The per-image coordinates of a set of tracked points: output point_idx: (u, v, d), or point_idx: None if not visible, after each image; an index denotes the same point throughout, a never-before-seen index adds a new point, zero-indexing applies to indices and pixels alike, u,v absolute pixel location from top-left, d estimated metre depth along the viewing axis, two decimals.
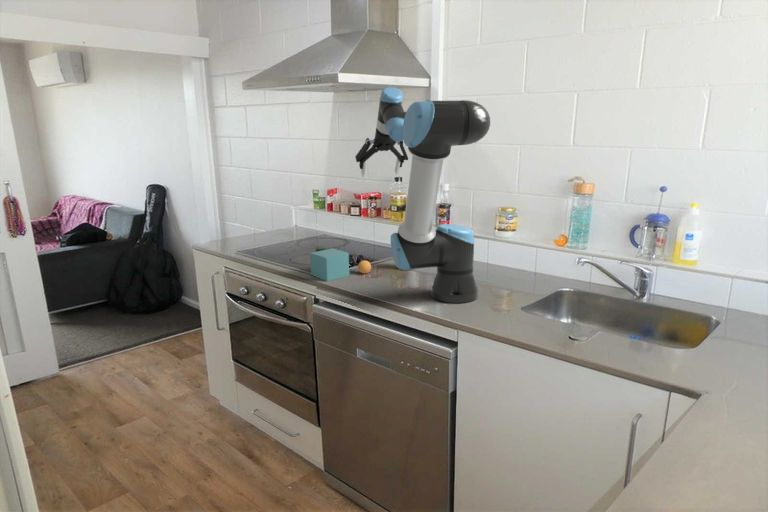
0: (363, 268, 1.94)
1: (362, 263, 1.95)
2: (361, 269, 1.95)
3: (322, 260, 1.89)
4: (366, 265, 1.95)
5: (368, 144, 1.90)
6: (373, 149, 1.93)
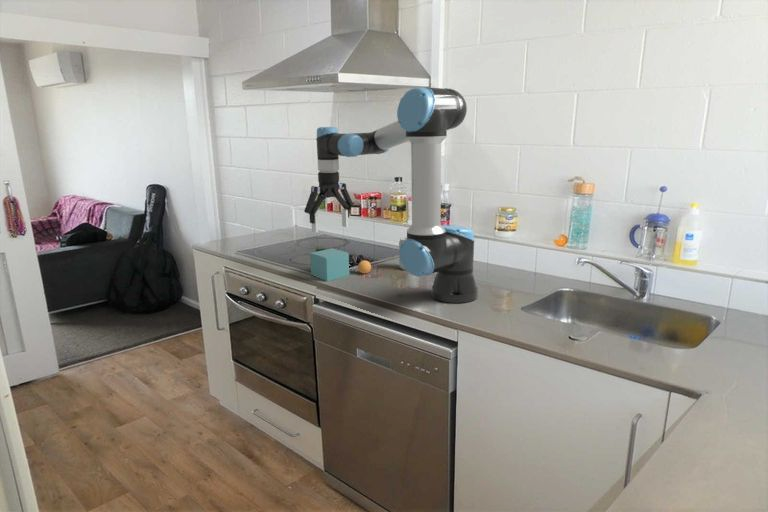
0: (363, 268, 1.94)
1: (362, 263, 1.95)
2: (361, 269, 1.95)
3: (322, 260, 1.89)
4: (366, 265, 1.95)
5: (316, 189, 1.83)
6: (321, 196, 1.86)
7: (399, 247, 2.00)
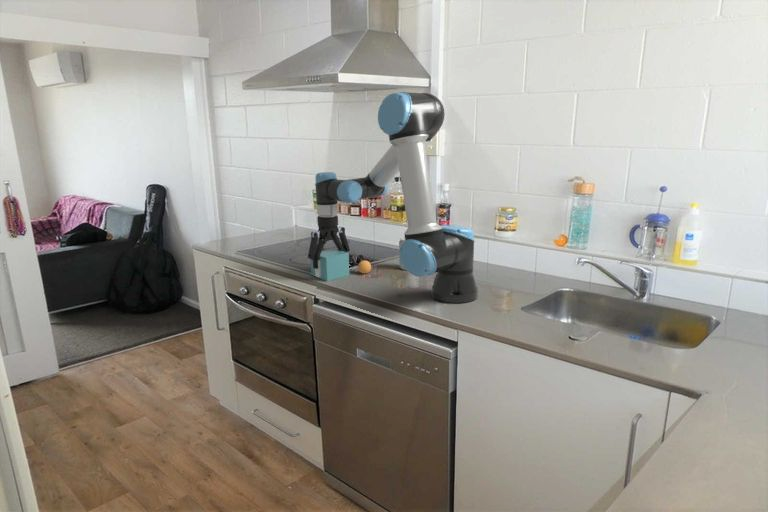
0: (363, 268, 1.94)
1: (362, 263, 1.95)
2: (361, 269, 1.95)
3: (322, 260, 1.89)
4: (366, 265, 1.95)
5: (316, 235, 1.86)
6: (321, 241, 1.89)
7: (399, 247, 2.00)
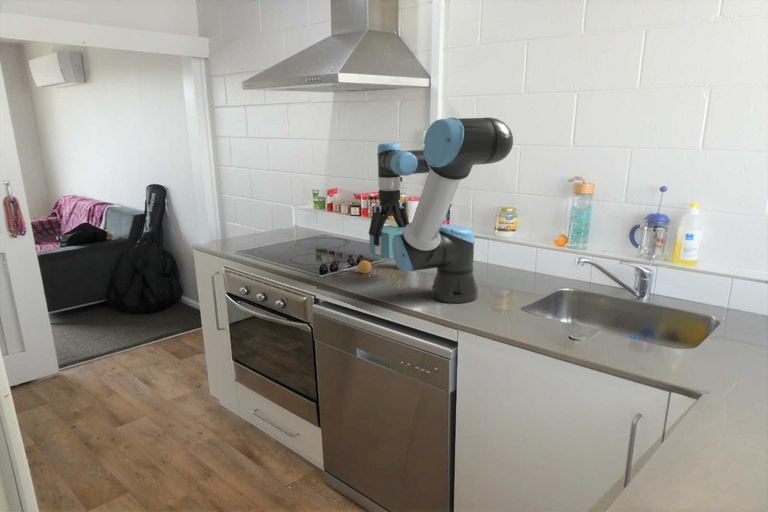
0: (363, 268, 1.94)
1: (362, 263, 1.95)
2: (361, 269, 1.95)
3: (383, 236, 1.78)
4: (366, 265, 1.95)
5: (378, 210, 1.75)
6: (383, 216, 1.78)
7: None
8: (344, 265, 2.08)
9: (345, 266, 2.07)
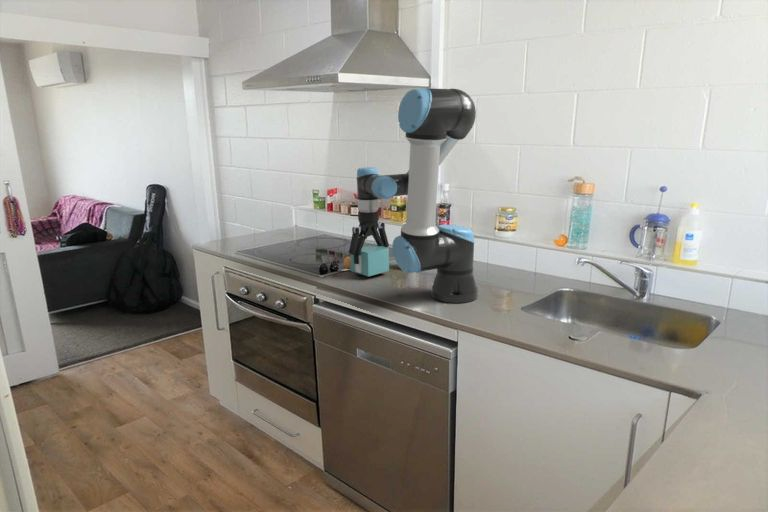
0: None
1: None
2: None
3: (363, 255, 1.88)
4: None
5: (357, 230, 1.86)
6: (362, 236, 1.89)
7: None
8: None
9: None
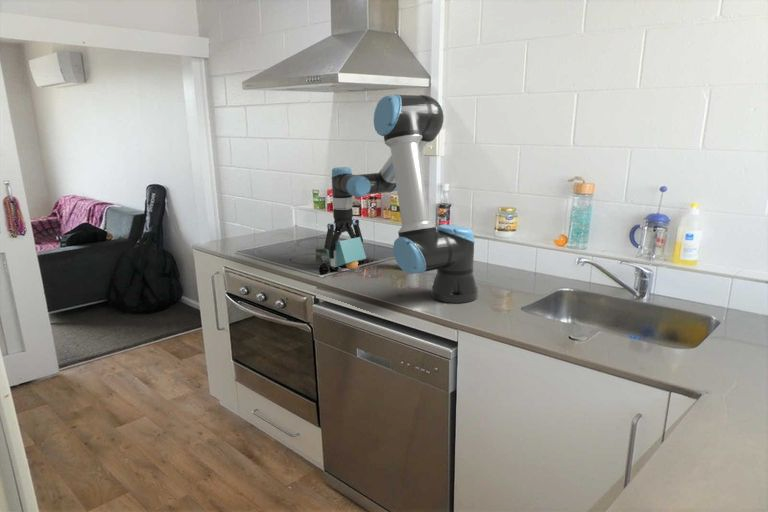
0: None
1: None
2: None
3: (336, 246, 1.99)
4: None
5: (332, 227, 1.97)
6: (337, 232, 2.00)
7: None
8: (344, 265, 2.08)
9: (345, 266, 2.07)
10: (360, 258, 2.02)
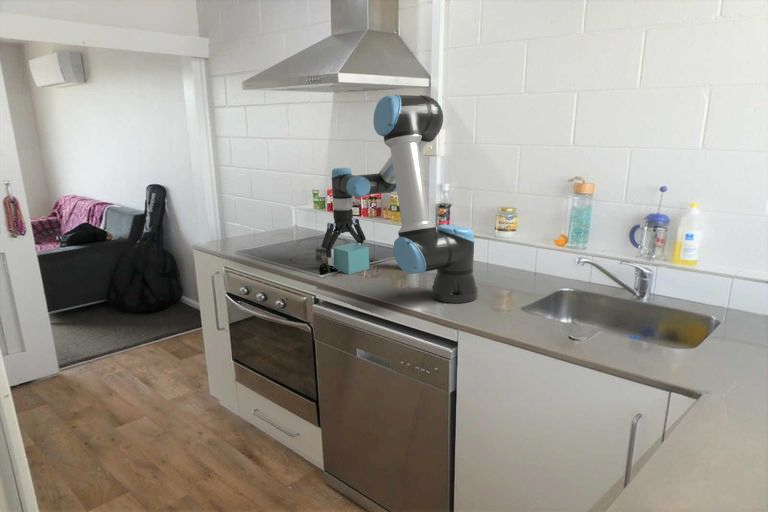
0: None
1: None
2: None
3: (343, 254, 1.97)
4: None
5: (332, 226, 1.97)
6: (336, 232, 1.99)
7: None
8: None
9: None
10: (363, 269, 2.01)
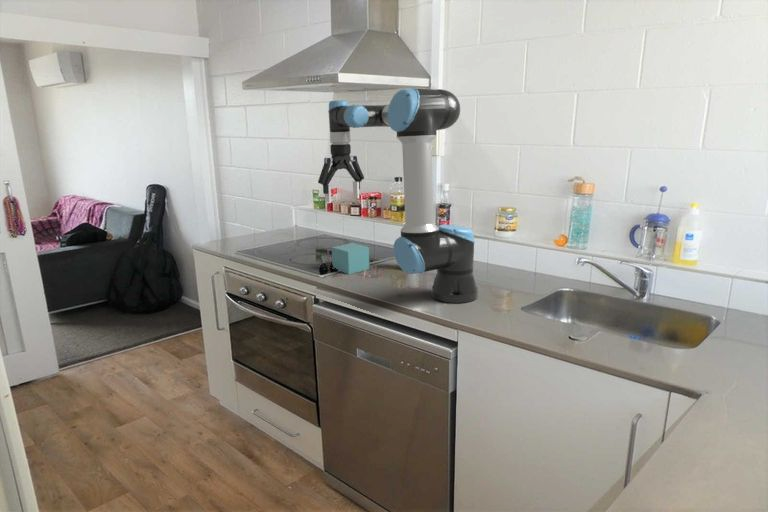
0: None
1: None
2: None
3: (343, 254, 1.97)
4: None
5: (329, 160, 1.91)
6: (333, 168, 1.93)
7: None
8: None
9: None
10: (363, 269, 2.01)
